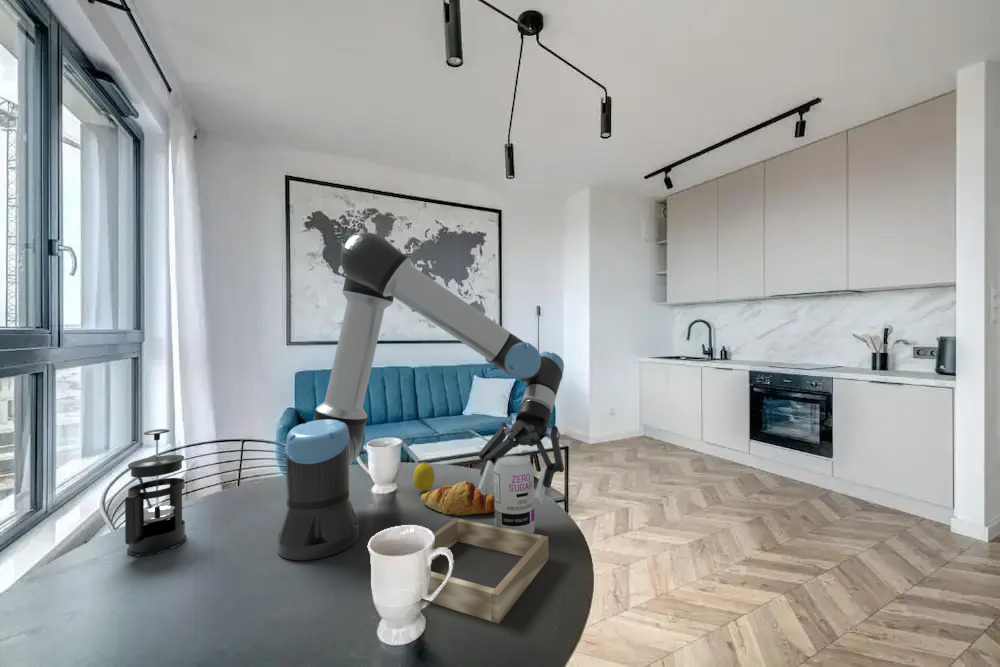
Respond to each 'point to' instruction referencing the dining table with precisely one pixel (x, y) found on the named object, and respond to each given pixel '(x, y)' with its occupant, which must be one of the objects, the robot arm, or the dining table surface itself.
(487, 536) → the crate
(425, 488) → the lemon
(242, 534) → the dining table surface
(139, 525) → the french press
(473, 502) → the croissant
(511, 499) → the supplement can
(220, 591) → the dining table surface
